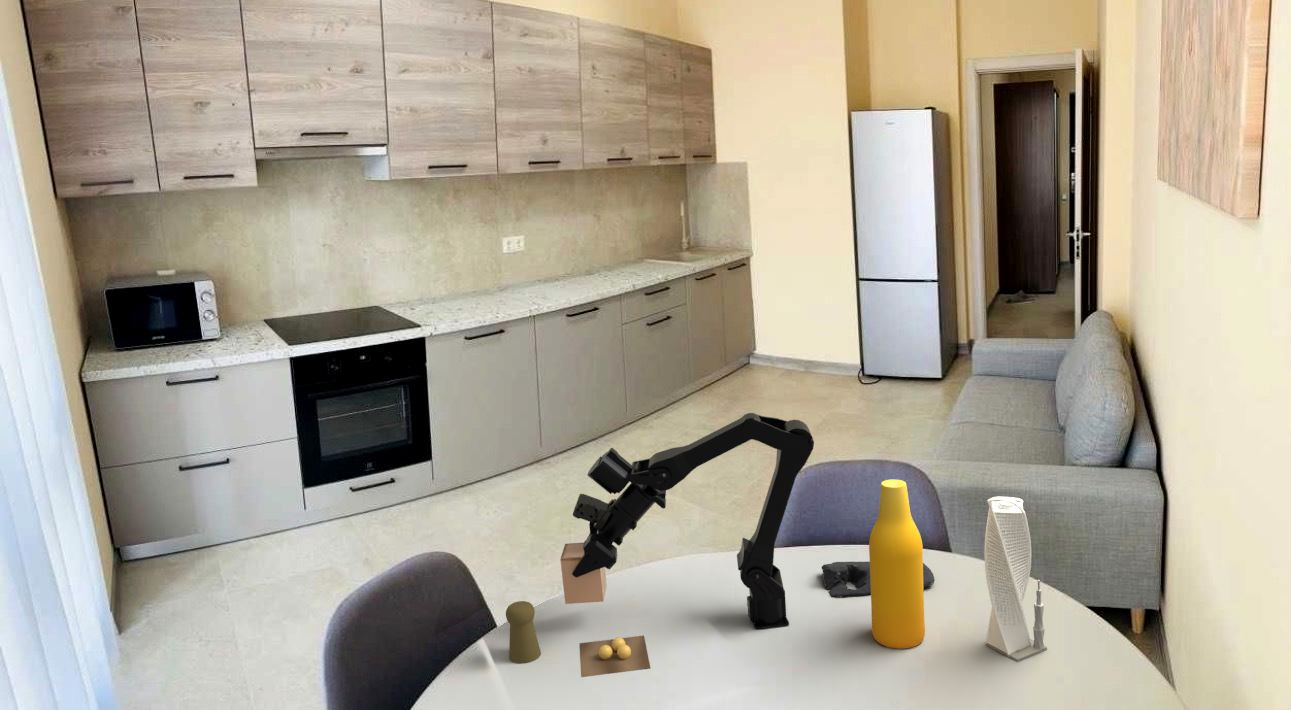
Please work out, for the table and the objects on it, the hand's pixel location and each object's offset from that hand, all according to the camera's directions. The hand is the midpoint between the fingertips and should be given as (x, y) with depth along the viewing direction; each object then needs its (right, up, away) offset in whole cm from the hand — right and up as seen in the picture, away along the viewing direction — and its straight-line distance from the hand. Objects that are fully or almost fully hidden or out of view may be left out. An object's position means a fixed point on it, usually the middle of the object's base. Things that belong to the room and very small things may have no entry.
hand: (576, 567), depth 182 cm
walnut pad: (+8, -15, -10) cm, 19 cm away
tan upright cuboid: (+2, -5, +1) cm, 6 cm away
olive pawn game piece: (-9, -16, -7) cm, 19 cm away
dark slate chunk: (+60, -6, +13) cm, 62 cm away
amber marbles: (+7, -14, -10) cm, 19 cm away
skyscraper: (+76, -10, -16) cm, 79 cm away
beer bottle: (+59, -11, -10) cm, 60 cm away
